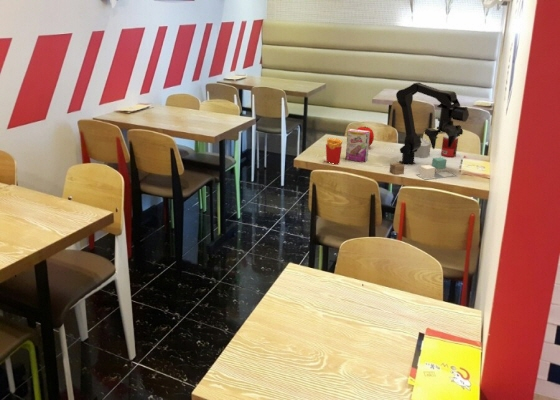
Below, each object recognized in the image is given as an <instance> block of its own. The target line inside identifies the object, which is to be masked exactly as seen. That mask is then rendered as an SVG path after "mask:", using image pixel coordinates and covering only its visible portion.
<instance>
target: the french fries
mask: <svg viewBox="0 0 560 400" xmlns="http://www.w3.org/2000/svg"><path fill="white" fill-rule="evenodd" d="M342 144H343V141H342V140H341V139H339V138H333V137H331V138H327V139H326V144H325V153H326V163H327V162H330V163H334V164H333V165H339V164H340V161H341V155H342ZM330 163H329V164H330ZM338 163H339V164H338Z"/></svg>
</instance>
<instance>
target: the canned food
mask: <svg viewBox="0 0 560 400" xmlns="http://www.w3.org/2000/svg"><path fill="white" fill-rule="evenodd" d="M458 143H459V136H458V137H457V138H455V140H454V142H453V143H452V145H451V147H450V148H449V147H448V135H447V134H444V135H443V136H442V144H441V153H440V154H441V156H442V157H443V158H444V157H445V158H455V157H456V156H457V150H458Z"/></svg>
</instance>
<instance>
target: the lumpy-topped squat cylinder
mask: <svg viewBox="0 0 560 400" xmlns="http://www.w3.org/2000/svg"><path fill="white" fill-rule="evenodd" d="M421 142H422V143H421V146H420V148H419V149H418V150H417V152H414V153H415V154H414V158H419V159H427V158H428V157H430V153H431V148H432V145H431V142H430V140H428V139H427V138H422V137H421Z"/></svg>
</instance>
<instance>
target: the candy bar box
mask: <svg viewBox="0 0 560 400" xmlns="http://www.w3.org/2000/svg"><path fill="white" fill-rule="evenodd" d="M369 136H370V131H364V130H357V129H354V128H349V129H348V130H347V136H346V149H345V152H346V153H345V160H347V161H353V162H359V163H366V162H367V161H369V160H368V157H369V148H370V146H369Z"/></svg>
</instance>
